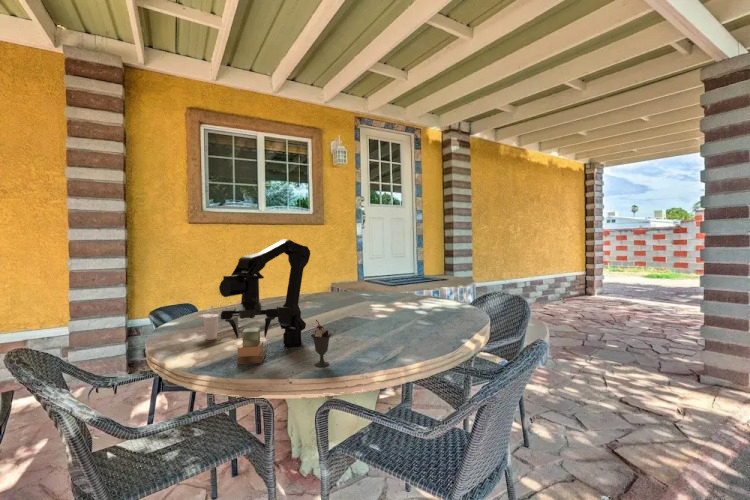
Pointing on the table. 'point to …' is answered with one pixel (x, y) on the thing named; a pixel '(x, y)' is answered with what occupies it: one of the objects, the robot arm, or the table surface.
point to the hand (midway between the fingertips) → (251, 337)
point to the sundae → (321, 344)
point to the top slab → (250, 350)
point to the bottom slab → (251, 359)
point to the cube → (251, 337)
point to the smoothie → (211, 325)
